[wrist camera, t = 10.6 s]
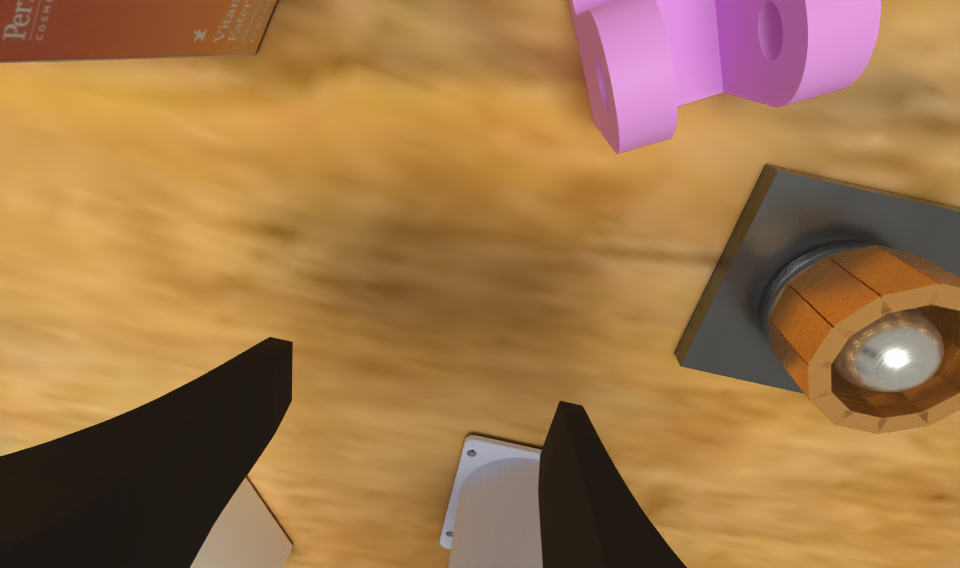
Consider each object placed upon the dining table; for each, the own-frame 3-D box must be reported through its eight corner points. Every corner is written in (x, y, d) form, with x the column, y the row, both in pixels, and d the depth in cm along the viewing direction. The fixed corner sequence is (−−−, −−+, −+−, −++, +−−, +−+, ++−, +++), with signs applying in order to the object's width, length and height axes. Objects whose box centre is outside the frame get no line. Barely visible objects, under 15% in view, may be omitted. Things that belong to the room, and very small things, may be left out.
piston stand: (861, 394, 22) (955, 496, 17) (674, 353, 22) (715, 443, 17) (995, 215, 18) (1170, 282, 13) (766, 164, 18) (855, 211, 13)
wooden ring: (880, 391, 20) (935, 446, 17) (743, 361, 20) (776, 411, 17) (976, 267, 17) (1059, 310, 14) (817, 231, 17) (871, 268, 14)
